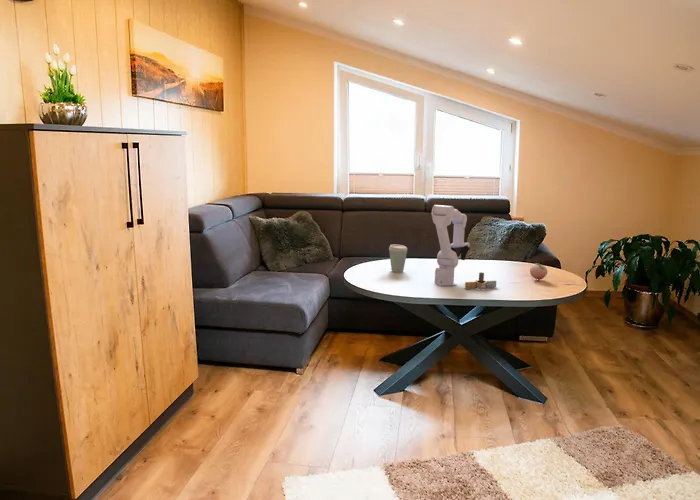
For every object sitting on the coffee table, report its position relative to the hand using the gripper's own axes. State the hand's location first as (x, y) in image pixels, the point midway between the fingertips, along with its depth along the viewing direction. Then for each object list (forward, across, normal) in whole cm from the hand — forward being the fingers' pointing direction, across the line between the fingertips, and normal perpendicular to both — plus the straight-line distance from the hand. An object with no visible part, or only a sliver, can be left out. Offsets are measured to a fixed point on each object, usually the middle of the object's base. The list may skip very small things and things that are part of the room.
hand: (457, 260), depth 300 cm
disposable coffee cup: (+10, -21, +26) cm, 35 cm away
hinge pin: (+10, -2, -21) cm, 24 cm away
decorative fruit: (+10, +37, -22) cm, 45 cm away
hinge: (+10, -2, -21) cm, 24 cm away
